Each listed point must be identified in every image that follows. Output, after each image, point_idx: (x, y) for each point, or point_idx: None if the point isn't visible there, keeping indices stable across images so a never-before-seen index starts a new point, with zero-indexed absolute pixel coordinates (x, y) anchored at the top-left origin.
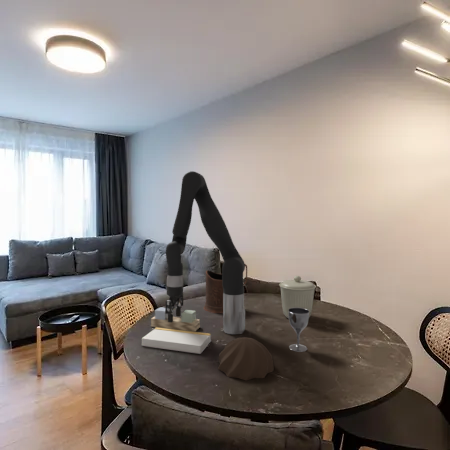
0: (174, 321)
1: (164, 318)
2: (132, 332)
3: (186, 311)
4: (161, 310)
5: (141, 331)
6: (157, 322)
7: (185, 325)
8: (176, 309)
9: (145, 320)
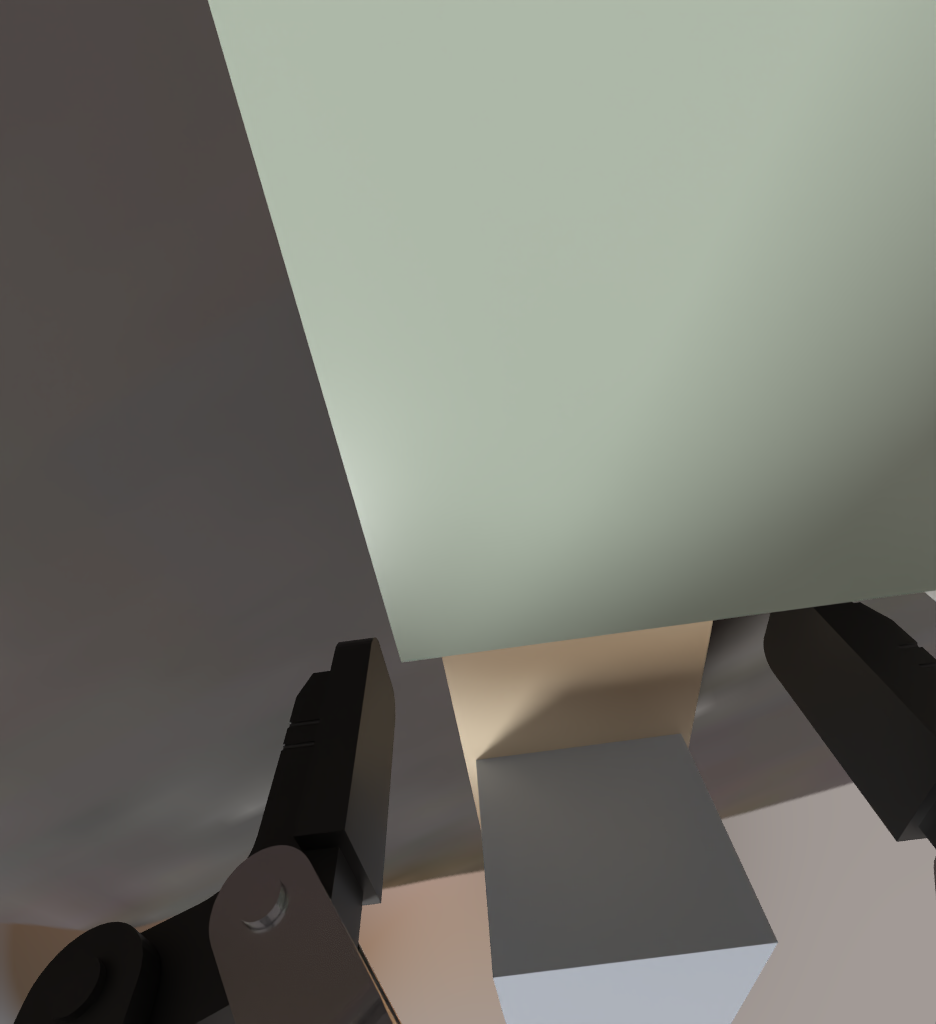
0: None
1: (692, 763)
2: (837, 781)
3: (677, 496)
4: (721, 985)
5: (802, 744)
6: None
7: None
8: (379, 862)
9: (481, 855)
